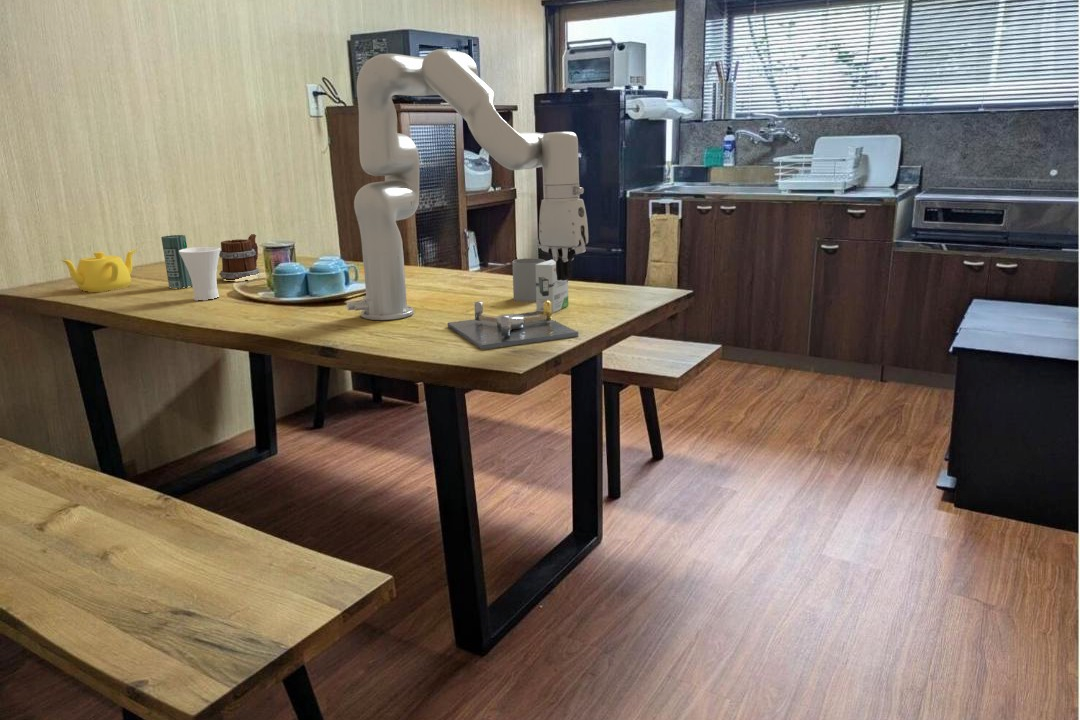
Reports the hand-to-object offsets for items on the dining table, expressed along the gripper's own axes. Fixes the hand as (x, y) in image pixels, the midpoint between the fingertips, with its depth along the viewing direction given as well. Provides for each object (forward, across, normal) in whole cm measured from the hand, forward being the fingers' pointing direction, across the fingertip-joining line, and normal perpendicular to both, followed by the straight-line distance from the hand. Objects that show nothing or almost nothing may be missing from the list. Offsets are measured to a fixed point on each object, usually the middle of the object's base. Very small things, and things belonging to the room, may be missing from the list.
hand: (564, 279), depth 169 cm
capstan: (+10, +9, +5) cm, 14 cm away
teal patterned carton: (+9, +127, +14) cm, 128 cm away
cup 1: (+9, +104, +20) cm, 107 cm away
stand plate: (+11, +10, +7) cm, 17 cm away
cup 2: (+11, +27, -24) cm, 38 cm away
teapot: (+9, +144, +27) cm, 147 cm away
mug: (+9, +123, -4) cm, 123 cm away
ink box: (+12, +15, -17) cm, 25 cm away
